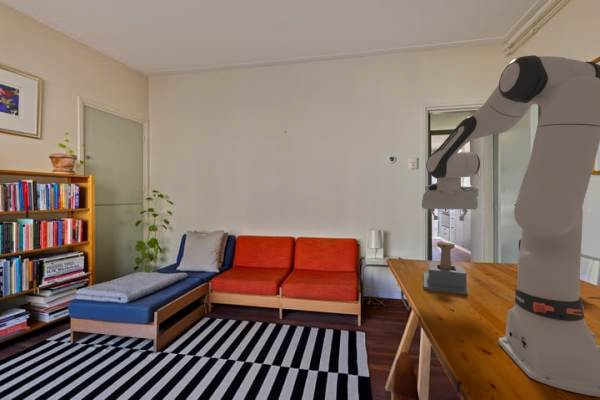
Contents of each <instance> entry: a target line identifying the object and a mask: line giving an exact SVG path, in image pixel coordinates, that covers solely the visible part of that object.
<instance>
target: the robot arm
mask: <svg viewBox="0 0 600 400" xmlns="http://www.w3.org/2000/svg"><path fill="white" fill-rule="evenodd" d="M533 105H537V106H540V107H539V108H540V115H539V118H538V121H537V126H536V130H535V134H534V140H533V145H532V148H531V153H530V157H529V161H528V165H527V168H526V170H525V172H524V175H523V179H522V182H521V185H520V188H519V191H518V194H517V198H516V202H515V205H514V208H513V217H514V219H515V221H516V223H517V225H518V226H519V227H520V228H521V238H520V240H521V244H520V250H519V249H518V255H517V256H518V257H517V286H516V287H515V291H514V295H513V296H514V302H515V304H514V306H513V307H512V308H510V309H509V310H507V315H506V325H505V326H506V327H505V336H502V337H498V340H497V343H498V345H499V346H500V347H502V349H503V350H504V352H506V353H507V354H508V355H509V357H510V358H511V359H513V361H514V362H515V363H516V364H517V365H518V366H519V368H520V369H522V371H523V372H524V373H525V374H526V375H527V377H529V378H531V379H532V380H534V381H538V382H539V383H542V384H545V385H547V386H551V387H554V388H557V389H560V390H563V391H564V390H565V391H568V392H572V393H577V394H582V395H586V396H592V397H597V398H600V345H597V344H596V341H595V340H596V334H595V333H594V332H591V331H590V329H589V327H588V325H587V323H586V321H585V320H584V318H585V307H584V305H583V301H582V300H583V299H582V298H580V290H581V289H580V285H581V258H582V256H581V255H582V241H583V240H582V237H583V236H582V235H583V218H584V216H583V214H584V211H583V209H584V208H583V206H584V202H585V198H586V194H587V190H588V187H589V183H590V180H591V176H592V174H593V170H594V167H595V163H596V159H597V154H598V150H599V146H600V64H598V63H595V62H592V61H581V60H576V59H572V58H567V57H566V58H565V57H564V56H563V57H561V56H547V55H546V56H545V55H544V56H538V55H533V54H532V55H524V56H518V57H517V58H515V59H513V60H511V62H510V63H509V64H508V65H506V67H505V68H504V69H503V71H502V73H501V75H500V78H499V82H498V85H497V86H496V87H495V88H494V90H493V91H492V93H491V94H490V95H489V97H488V98H487V100H486V101H485V102H484V103H483V104H482V106H480V107H479V108H478V109H477V110H476V111H474V112H473V113H472V114H471V115H470V116H467V117H466V118H464V119H463V120H462V121H461V122H460V123H459V124H458V125H457V126H456V127H455V128H454V129H453V131H452V132H451V133H450V134H449V135H448V136H447V138H445V140H444V141H443V142H442V143H441V144H440V146H439V147H438V148H437V149H436V150H434V151H433V152H432V153H431V154H430V155H428V159H427V160H426V164H425V167H426V171H427V173H428V174H430V176H431V177H433V178H434V179H436V182H435V183H431V184H428V185H426V186H424V189H425V192H424V193H423V195H422V199H421V208H422V209H424V210H430V213H431V214H432V216H433V220H434V221H438V220H439V219H438V217H439V215H436V214H435V210H462V215H459V219H458V220H459V222H461V221H465V216H466V215H467V213H468V210H476V209H478V208H479V206H478V204H479V202H478V198H477V197H478V196H479V189H478V188H477V187H475V186H473V185H470V186H466V185H464V186H462V178H468V177H474V176H475V175H477V174H478V172H479V170H480V168H481V159H480V157H479V155H478V154H477V153H476V152H474V151H473V152H472V151H466V150H463V149H462V148H463V147H464V146H465V145H466V144H468V143H470V142H472V141H474V140H477V139H480V138H485V137H488V136H494V135H498V134H500V135H501V134H503V133H506V132H508V131H510V130H511V129H512V128H513V127H515V126H516V125H517V124H518V123H519V122H521V120H522V119H523V117H524V116H525V115H526V113H528V111H529V110H530V108H531V107H532V106H533Z"/></svg>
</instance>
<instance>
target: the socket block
mask: <svg viewBox="0 0 600 400" xmlns="http://www.w3.org/2000/svg"><path fill="white" fill-rule="evenodd" d="M467 280H468V279H467V271H466V270H465V268H464V266H463V265H459V264H451V270H442V269H440V263H437V262H436V263H435V262H428V272H424V271H423V290H424V291H430V292H431V291H432V292H440V293H449V294H456V295H463V296H464V295H465V296H468V294H469V292H468V289H467Z"/></svg>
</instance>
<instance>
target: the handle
mask: <svg viewBox="0 0 600 400" xmlns="http://www.w3.org/2000/svg"><path fill="white" fill-rule="evenodd" d="M436 245H437V247H438V248H440V262H439V264H440V269H442V270H451V265H452V263H451V262H452V261H451V260H452V259H451V250H452V249H454V248H455V247H456V245H455V243H451V242H444V241H443V242H442V241H441V242H437V244H436Z"/></svg>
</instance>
